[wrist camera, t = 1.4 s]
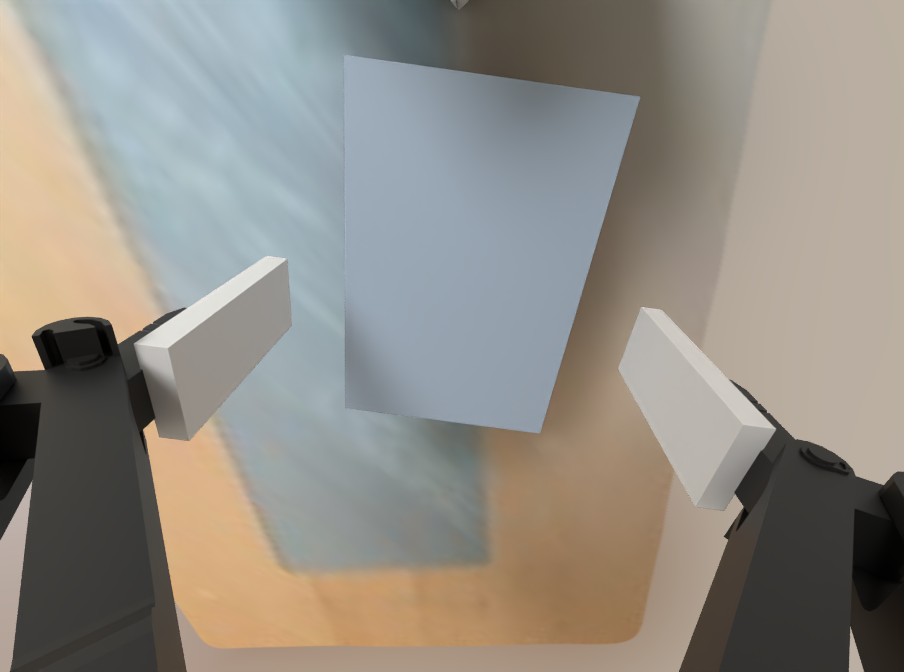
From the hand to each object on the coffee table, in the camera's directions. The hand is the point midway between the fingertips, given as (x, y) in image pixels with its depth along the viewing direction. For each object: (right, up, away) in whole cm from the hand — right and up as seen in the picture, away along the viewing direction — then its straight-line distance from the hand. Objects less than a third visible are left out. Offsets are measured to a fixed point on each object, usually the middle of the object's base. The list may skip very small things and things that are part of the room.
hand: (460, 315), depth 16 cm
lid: (0, +3, +4) cm, 5 cm away
